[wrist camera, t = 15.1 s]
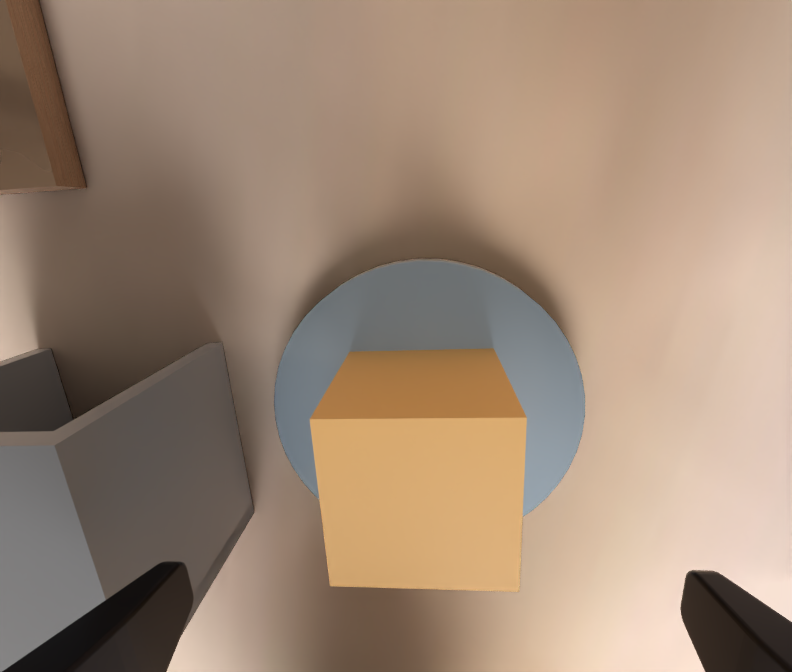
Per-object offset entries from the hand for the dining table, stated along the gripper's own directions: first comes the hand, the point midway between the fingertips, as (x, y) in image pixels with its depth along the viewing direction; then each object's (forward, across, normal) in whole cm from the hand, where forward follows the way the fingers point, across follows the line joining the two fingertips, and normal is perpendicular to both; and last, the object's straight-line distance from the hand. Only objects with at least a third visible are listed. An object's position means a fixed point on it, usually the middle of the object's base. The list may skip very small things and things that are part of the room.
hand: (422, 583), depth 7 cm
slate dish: (+6, 0, -1) cm, 6 cm away
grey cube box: (+6, +10, 0) cm, 11 cm away
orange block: (+5, 0, -1) cm, 5 cm away
